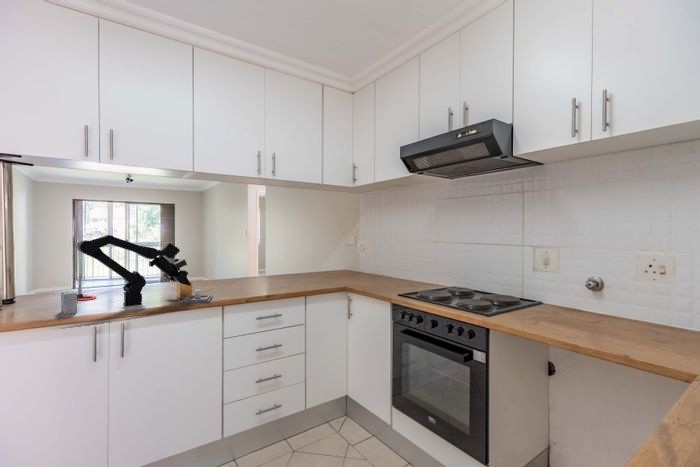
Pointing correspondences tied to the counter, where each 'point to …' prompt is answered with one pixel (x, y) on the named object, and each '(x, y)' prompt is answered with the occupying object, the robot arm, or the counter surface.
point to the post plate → (197, 298)
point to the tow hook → (80, 295)
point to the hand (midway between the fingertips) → (187, 284)
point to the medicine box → (69, 302)
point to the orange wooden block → (184, 290)
